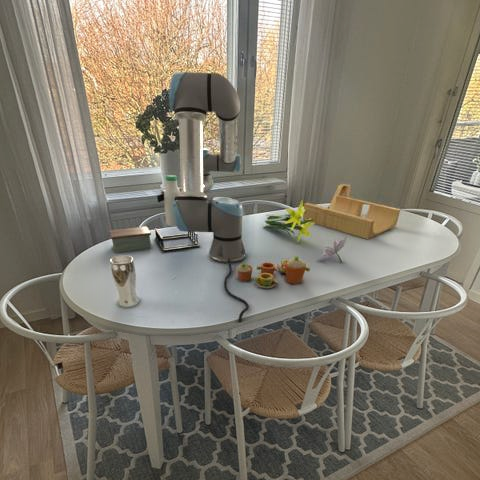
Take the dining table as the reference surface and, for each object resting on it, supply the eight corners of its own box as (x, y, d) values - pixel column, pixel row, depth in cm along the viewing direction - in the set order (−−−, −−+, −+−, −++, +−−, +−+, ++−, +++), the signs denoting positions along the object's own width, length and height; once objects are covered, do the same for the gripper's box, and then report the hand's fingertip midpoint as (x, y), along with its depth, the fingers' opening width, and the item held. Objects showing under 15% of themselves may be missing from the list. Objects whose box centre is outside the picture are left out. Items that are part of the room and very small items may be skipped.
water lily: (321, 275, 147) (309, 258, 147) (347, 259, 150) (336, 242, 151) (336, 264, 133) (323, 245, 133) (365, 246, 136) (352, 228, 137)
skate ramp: (302, 221, 190) (305, 191, 181) (338, 208, 210) (343, 180, 201) (367, 241, 166) (374, 207, 157) (401, 224, 186) (409, 194, 177)
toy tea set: (291, 266, 138) (294, 243, 133) (312, 282, 126) (316, 258, 121) (231, 275, 129) (231, 251, 124) (247, 294, 117) (248, 268, 112)
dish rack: (199, 247, 152) (198, 235, 149) (163, 252, 147) (162, 239, 144) (188, 235, 165) (187, 223, 162) (155, 239, 160) (153, 227, 156)
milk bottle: (180, 227, 147) (176, 178, 136) (163, 226, 148) (158, 177, 138) (186, 222, 154) (183, 174, 143) (170, 220, 155) (165, 173, 144)
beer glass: (120, 297, 114) (112, 254, 106) (141, 296, 114) (135, 254, 106) (115, 308, 108) (106, 264, 100) (138, 307, 109) (131, 264, 100)
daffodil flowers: (285, 225, 184) (331, 226, 154) (266, 243, 181) (309, 248, 151) (268, 199, 175) (314, 195, 145) (249, 218, 172) (291, 217, 143)
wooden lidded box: (152, 248, 150) (150, 232, 146) (114, 253, 144) (111, 237, 140) (148, 241, 156) (146, 226, 152) (112, 246, 151) (108, 230, 147)
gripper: (213, 199, 158) (189, 212, 140) (174, 194, 164) (146, 206, 146) (212, 182, 154) (188, 193, 136) (173, 178, 160) (144, 187, 142)
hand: (166, 199), depth 141 cm, fingers closed on milk bottle, 7 cm apart
